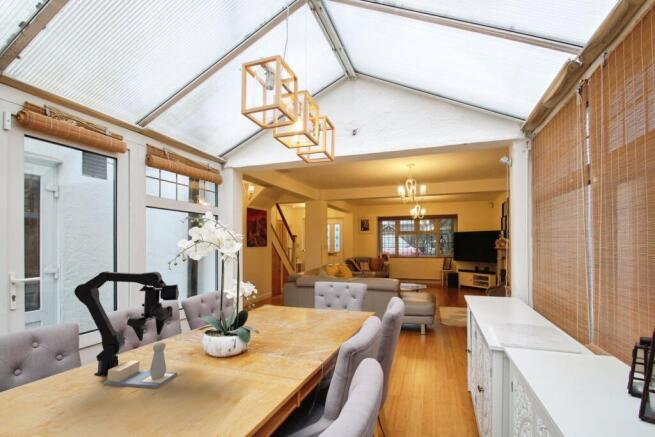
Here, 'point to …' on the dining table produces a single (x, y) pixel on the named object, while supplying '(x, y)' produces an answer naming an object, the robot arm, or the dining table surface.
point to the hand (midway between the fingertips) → (150, 337)
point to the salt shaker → (158, 362)
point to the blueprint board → (135, 376)
